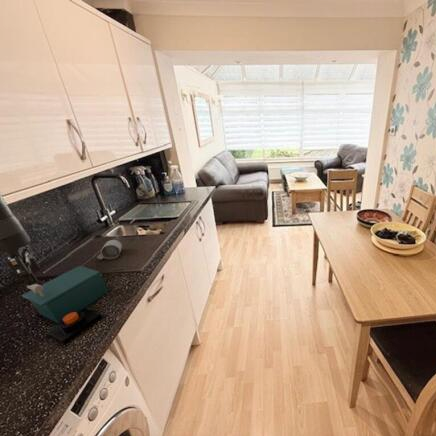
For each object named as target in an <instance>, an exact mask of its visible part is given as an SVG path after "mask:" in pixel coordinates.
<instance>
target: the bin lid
mask: <svg viewBox="0 0 436 436" xmlns="http://www.w3.org/2000/svg"><path fill="white" fill-rule="evenodd" d="M98 274H101V273H100V271H98V270H96V269H95V270H94V269H91V268H88V267H85V266H82V265H78V266H76V267H74V268H72V269H70V270H68V271H66V272H64V273H63V274H60V275H58V276H57V277H54V278H53V279H50V280H49V281H47V282H45V283H43V284H41V285H40V284H38V283H36V284H34V285H31V286H28V285H27V284H26V288H27V289H29V291H27V292H25V293H23V294H22V295H21V296H22V298H24V299H26V300H28V301H30V300H31V301H33V302H35V303H37V304H39V305H41V306H44V305H46V304H47V303H49V302H51V301H53V300H54V299H56V298H58V297H60V296H61V295H63V294H65V293H67V292H68V291H70V290H72V289H74V288H75V287H77V286H79V285H81V284H82V283H84V282H86V281H88V280H89V279H91V278H93V277H95V276H96V275H98ZM31 301H30V302H31Z"/></svg>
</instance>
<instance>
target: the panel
mask: <svg viewBox="0 0 436 436" xmlns="http://www.w3.org/2000/svg"><path fill="white" fill-rule="evenodd" d="M76 313H77V314H78V316H79V318H78V319H77V320H76V321H75V322H73V323H71V324H65V323H64V321H63V319H62V320H61V322H60V323H58V324H57V325H56V326H55V327H52V329H50V330H49V331H47V332H46V334H47V335H48V336H49V337H50V338H51V339H53V340H55V341H57V342H59V343H61V344H63V345H67V344H68V343H70V342H71V341H73V339H76V337H78V336H79V335H80V334H82V333H83V332H85V331H86V330H88V329H89V328H90V327H91V326H93V325H94V324H95V323H97V322H99V321H100V320H102V316H101V314H100V313H97V312H95V311H93V310H91V309H88V308H86V307H85V308H83V309H82V310H80V311H79V312H76Z"/></svg>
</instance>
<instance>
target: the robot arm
mask: <svg viewBox="0 0 436 436" xmlns="http://www.w3.org/2000/svg"><path fill="white" fill-rule="evenodd" d="M31 242H32V239H31V238H30V236H29V234H28V232H27V231H26V229H25V227H24V226H23V225H22V223H21V221H20V220H19V219H18V218H17V217H16V216H15V215H14V213H13V212H12V209H11V208H10V207H9V205H8V203H7V202H6V201H5V200H4V197H3V195H2V193H1V191H0V254H3V253H4V254H7V255H8V256H7V259H6V260H5V262H6V264H7V266H9V268H10V270H11V271H12V273H13V274H14V275H15V278H17V279H19V278H21V279H22V280H23V282H24V284H26V286H27V285H28V286H31V285H34V284H38V282H39V280H38V279H37V278H36V276H35V274H34V273H37V272H40V271H41V267H40V265H39V263H38V262H37V260H36V253H35V252H34V251H33V249H32V248H31V246H30V245H29V244H30V243H31ZM22 270H23V271H22Z"/></svg>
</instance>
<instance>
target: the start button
mask: <svg viewBox="0 0 436 436" xmlns="http://www.w3.org/2000/svg"><path fill="white" fill-rule="evenodd" d="M78 318H79V316H78V314H77V313H76V312H72V313H69V314H67V315H66V316H65V317H64V318H63V321H64V323H65V324H71V323H73V322H75V321H76V320H77V319H78Z"/></svg>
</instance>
